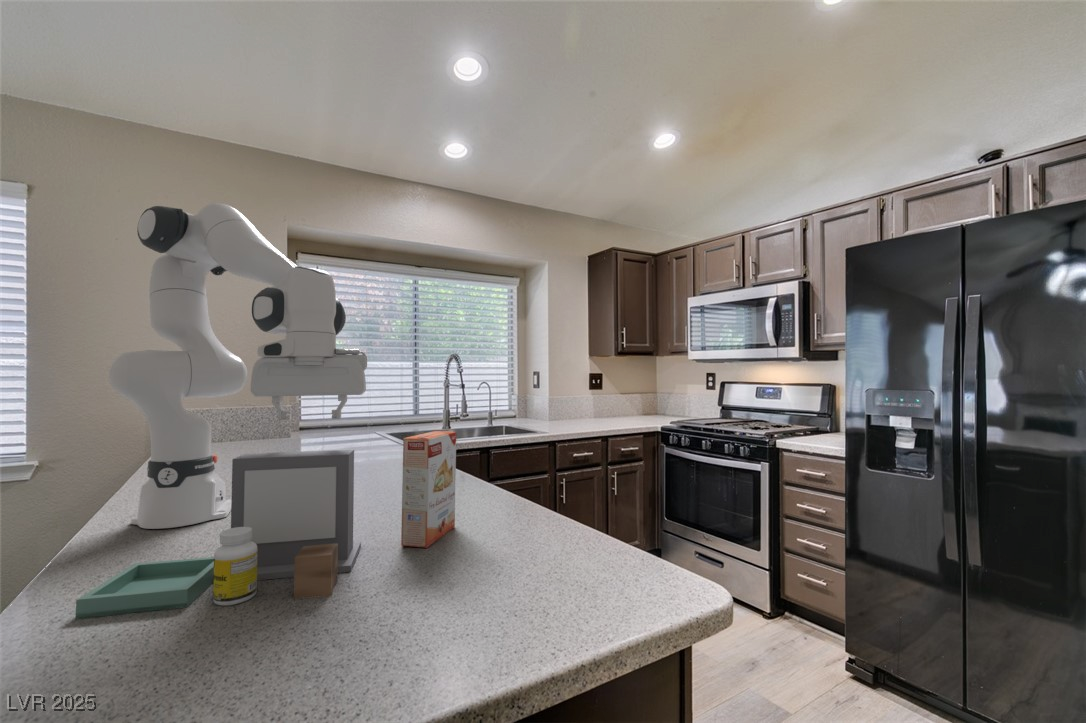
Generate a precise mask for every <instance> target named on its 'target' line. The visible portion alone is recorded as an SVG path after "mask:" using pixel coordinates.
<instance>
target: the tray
mask: <svg viewBox="0 0 1086 723" xmlns="http://www.w3.org/2000/svg"><path fill="white" fill-rule="evenodd" d="M213 584H214V556H210V557H209V556H206V557H197V558H196V557H195V558H185V559H173V560H172V559H171V560H159V561H149V562H148V561H147V562H138V563H137V562H136V563H133V564H131V565H130V566H128V567H127V568H126V569H124V570H122V571H121V572H119V573H118V574H116V575H114V576H113V577H111V578H109V579H107V580H106V581H104V582H103V583H101V584H100V585H98V586H96V587H95V588H93V589H92V590H90V591H88V592H86V593H85V594H83V595H81V596H80V597H79V598H77V599H75V620H76V619H77V620H78V619H85V618H87V619H89V618H95V617H107V616H115V615H124V614H125V615H126V614H136V613H142V612H143V613H144V612H145V613H146V612H155V611H162V610H163V611H164V610H172V609H173V610H174V609H183V608H188V607H189V606H191V604H192V603H193V602H195V600H197V599H198V598H199V597H200V596H201V595H202V594H203V593H204V592H205V591H206V590H207V589H208V588H209V587H210V586H212V585H213Z"/></svg>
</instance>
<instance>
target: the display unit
mask: <svg viewBox="0 0 1086 723" xmlns="http://www.w3.org/2000/svg"><path fill="white" fill-rule="evenodd" d="M231 460H232V463H231V465H232V466H231V470H232V471H231V499H232V500H231V511H230V513H231V514H230V529H231V528H236V527H250V528H252V539H251V540H250V541H252V542H254V543H256V545H257V581H265V580H276V579H285V578H294V570H295V557H296V556H297V554H298V553H299V552H300V550H301V549H302V548H303V546H313V545H325V544H337V543H338V564H337V574H338V573H339V574H340V573H348V572H349V573H351V572H352V570H353V568H354V565H355V563H356V560H357V558H358V556H359V552H360V550H361V548H362V541H354V503H355V501H354V499H355V497H354V495H355V494H354V493H355V486H354V485H355V482H354V481H355V449H338V450H336V449H332V450H313V451H311V450H308V451H284V452H282V451H279V452H255V453H254V452H251V453H245V454H242V455H240V456H237V457H234V458H232V459H231Z"/></svg>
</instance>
